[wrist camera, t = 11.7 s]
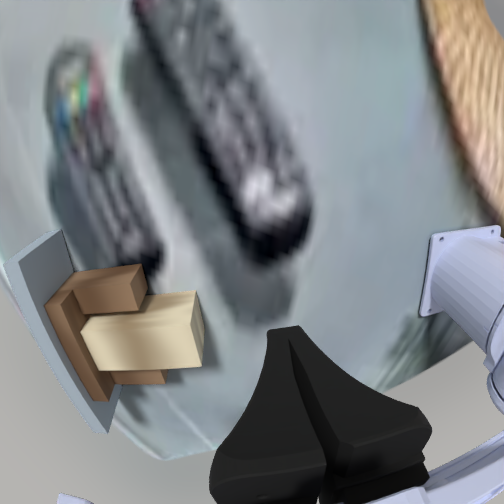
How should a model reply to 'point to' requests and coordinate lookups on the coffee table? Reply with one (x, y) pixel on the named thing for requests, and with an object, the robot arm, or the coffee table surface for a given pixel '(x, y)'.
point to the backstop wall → (32, 306)
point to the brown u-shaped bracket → (90, 302)
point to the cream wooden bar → (148, 334)
